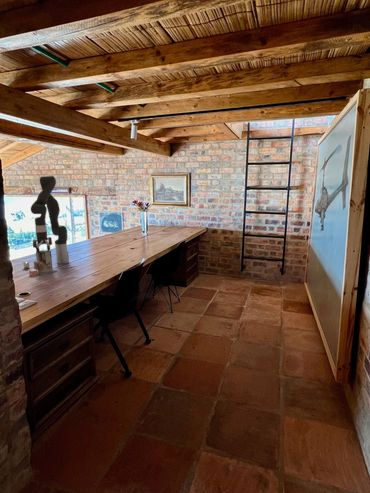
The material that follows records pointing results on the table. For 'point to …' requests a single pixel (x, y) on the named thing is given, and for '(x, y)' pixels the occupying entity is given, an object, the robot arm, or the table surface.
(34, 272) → the terracotta block
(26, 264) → the steel cylinder
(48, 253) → the coffee box
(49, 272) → the slate mat
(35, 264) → the walnut block
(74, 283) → the table surface
